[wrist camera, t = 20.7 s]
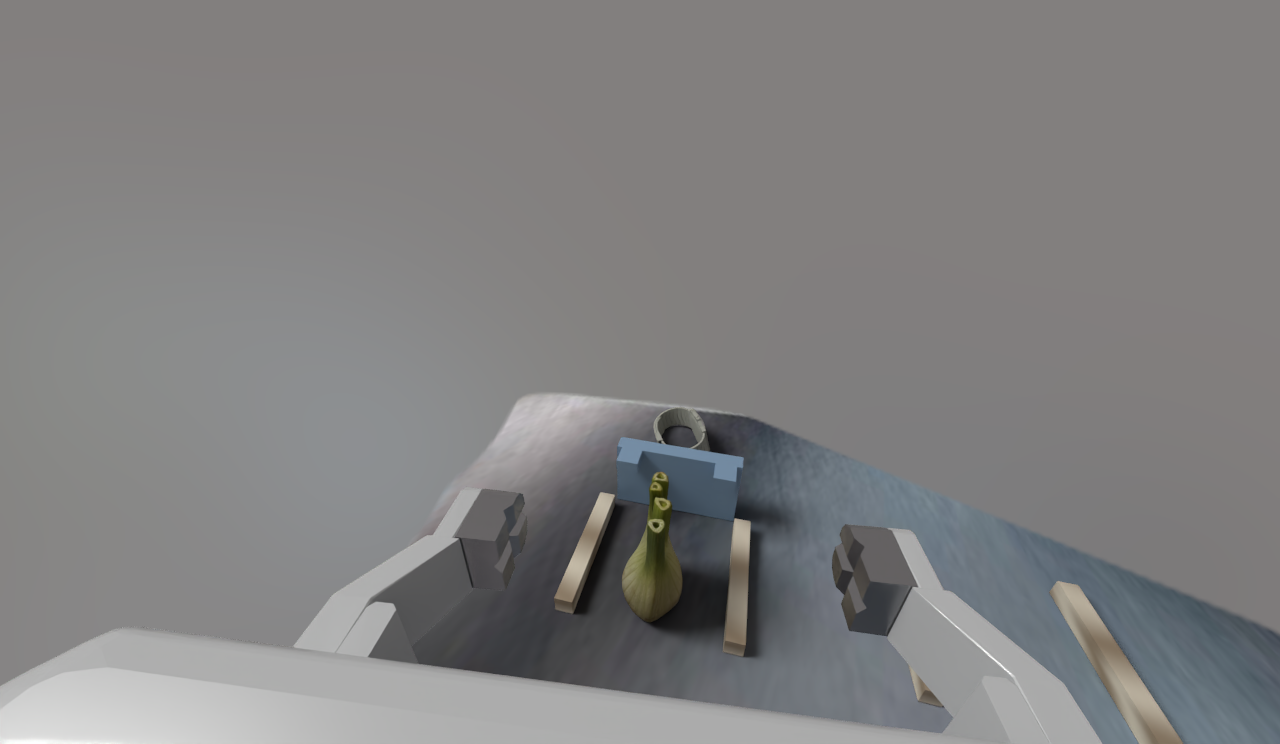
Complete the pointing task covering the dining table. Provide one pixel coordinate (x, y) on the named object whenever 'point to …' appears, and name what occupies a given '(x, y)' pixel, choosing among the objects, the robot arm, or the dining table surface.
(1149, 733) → the beige small bars
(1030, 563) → the dining table surface
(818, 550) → the dining table surface
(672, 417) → the wristwatch
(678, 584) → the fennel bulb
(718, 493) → the blue notched panel
